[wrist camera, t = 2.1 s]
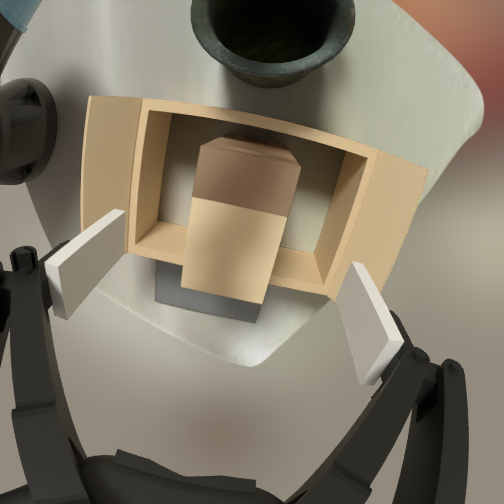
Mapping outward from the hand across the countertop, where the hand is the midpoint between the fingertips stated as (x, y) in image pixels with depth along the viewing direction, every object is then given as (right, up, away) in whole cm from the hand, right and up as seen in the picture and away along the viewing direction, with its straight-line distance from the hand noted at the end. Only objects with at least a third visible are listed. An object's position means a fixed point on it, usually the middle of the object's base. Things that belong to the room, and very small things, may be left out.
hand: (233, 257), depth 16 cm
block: (+1, +8, +15) cm, 17 cm away
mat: (-4, -3, +21) cm, 21 cm away
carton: (+1, +8, +15) cm, 17 cm away
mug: (+4, +23, +8) cm, 24 cm away
